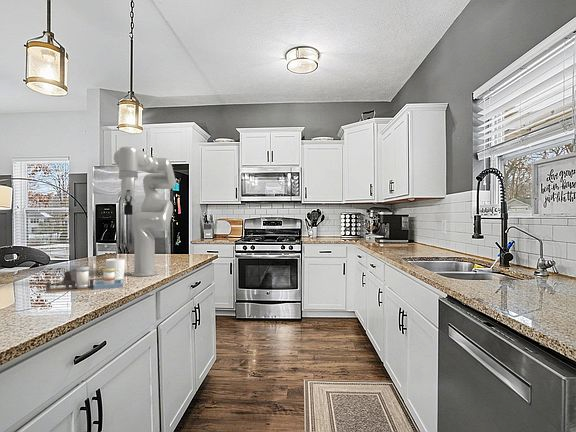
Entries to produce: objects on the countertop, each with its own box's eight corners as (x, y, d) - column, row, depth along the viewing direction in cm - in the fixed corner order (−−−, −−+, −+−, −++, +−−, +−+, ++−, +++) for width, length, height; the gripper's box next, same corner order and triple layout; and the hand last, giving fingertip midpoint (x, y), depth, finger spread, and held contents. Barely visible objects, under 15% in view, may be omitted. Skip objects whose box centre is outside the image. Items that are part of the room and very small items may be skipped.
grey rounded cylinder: (76, 287, 133) (77, 266, 134) (89, 286, 135) (89, 266, 135) (75, 289, 130) (75, 268, 130) (88, 288, 132) (88, 267, 132)
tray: (95, 288, 139) (95, 281, 139) (122, 286, 143) (122, 279, 143) (93, 293, 130) (93, 285, 130) (122, 291, 134) (122, 283, 134)
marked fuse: (103, 287, 137) (103, 267, 137) (114, 286, 139) (114, 267, 139) (102, 289, 134) (102, 269, 134) (114, 288, 136) (114, 268, 136)
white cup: (105, 280, 156) (106, 258, 156) (125, 279, 160) (125, 258, 160) (104, 283, 149) (105, 260, 149) (124, 282, 152) (125, 259, 153)
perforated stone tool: (78, 282, 152) (78, 266, 153) (90, 282, 153) (91, 266, 153) (58, 289, 138) (59, 271, 138) (72, 289, 138) (72, 271, 138)
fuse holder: (49, 292, 132) (49, 280, 132) (93, 288, 139) (93, 277, 139) (43, 297, 123) (44, 284, 123) (91, 293, 130) (92, 281, 130)
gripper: (119, 177, 157) (118, 214, 157) (118, 173, 141) (118, 214, 141) (136, 178, 160) (136, 214, 160) (138, 174, 144) (138, 214, 144)
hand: (128, 214), depth 150 cm, fingers open, 9 cm apart
